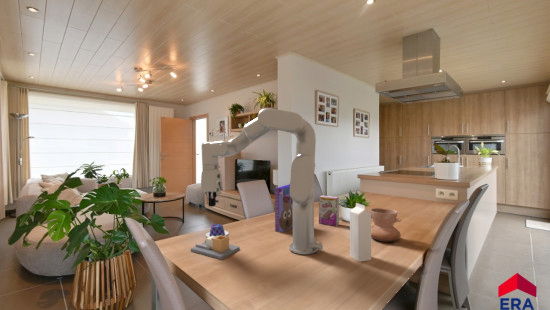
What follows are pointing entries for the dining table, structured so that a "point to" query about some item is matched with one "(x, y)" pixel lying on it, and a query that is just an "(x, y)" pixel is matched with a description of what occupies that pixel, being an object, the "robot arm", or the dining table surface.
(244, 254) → the dining table surface
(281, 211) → the cereal box
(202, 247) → the base
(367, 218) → the milk
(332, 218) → the candy bar box
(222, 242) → the orange hollow cube
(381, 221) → the ceramic jug
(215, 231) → the pudding
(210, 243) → the cream square block
